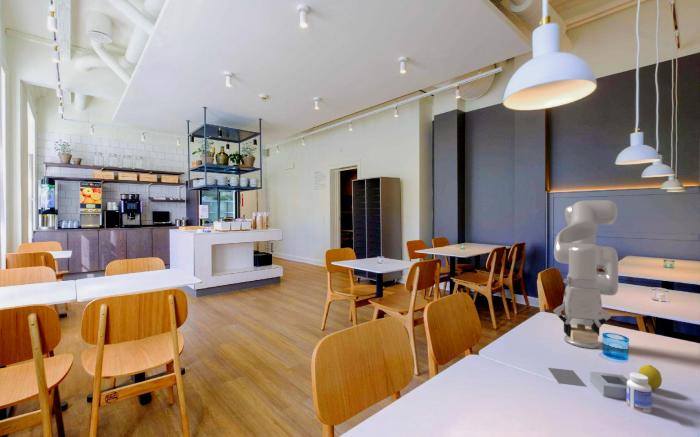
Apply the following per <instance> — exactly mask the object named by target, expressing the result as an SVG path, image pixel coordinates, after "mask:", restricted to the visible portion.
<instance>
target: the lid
mask: <svg viewBox="0 0 700 437" xmlns="http://www.w3.org/2000/svg"><path fill="white" fill-rule="evenodd" d="M568 337H569V336H568ZM569 338H570V339H571V340H572V341H579V342H589V343H598V342H599V336H598V334H597V333H596V332H595V331H594V330H592V329H591V328H590V327H588V326H585V325H583V324H577V326H576V325H571V333H570V337H569Z"/></svg>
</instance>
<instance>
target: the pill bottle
mask: <svg viewBox="0 0 700 437" xmlns="http://www.w3.org/2000/svg"><path fill="white" fill-rule="evenodd" d="M627 380H628V381H627V399H625V400H626V406H627V407H629V408H630V409H632V410H635V411H637V412H640V413H647V414H648V413H651V412H652V390H653V389H651V386H650V385H649V384H648V377H647V376H645V375H643V374H640V373H639V372H630V373H629V379H627Z"/></svg>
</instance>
